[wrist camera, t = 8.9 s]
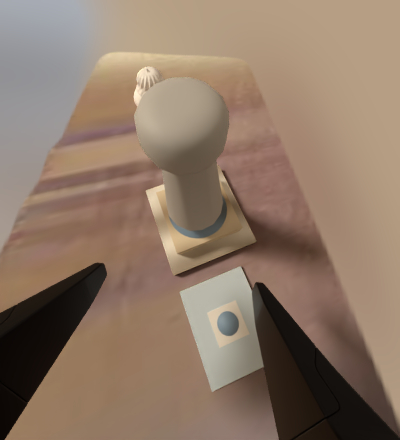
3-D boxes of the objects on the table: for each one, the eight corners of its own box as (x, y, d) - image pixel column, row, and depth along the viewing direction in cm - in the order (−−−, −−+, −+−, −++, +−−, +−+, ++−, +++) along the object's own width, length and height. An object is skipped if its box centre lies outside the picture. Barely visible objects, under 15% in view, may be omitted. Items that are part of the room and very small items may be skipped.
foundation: (254, 242, 21) (262, 238, 18) (174, 275, 20) (169, 276, 17) (217, 168, 24) (219, 155, 21) (148, 193, 23) (139, 183, 20)
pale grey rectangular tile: (280, 355, 17) (282, 358, 17) (211, 388, 16) (212, 392, 16) (240, 266, 20) (241, 266, 19) (180, 291, 19) (179, 292, 19)
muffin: (138, 111, 28) (117, 61, 21) (170, 99, 28) (160, 47, 22) (149, 137, 26) (130, 91, 19) (184, 124, 27) (177, 76, 20)
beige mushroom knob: (227, 199, 19) (272, 73, 7) (209, 243, 18) (222, 186, 5) (183, 182, 20) (150, 41, 7) (162, 223, 18) (77, 131, 6)
